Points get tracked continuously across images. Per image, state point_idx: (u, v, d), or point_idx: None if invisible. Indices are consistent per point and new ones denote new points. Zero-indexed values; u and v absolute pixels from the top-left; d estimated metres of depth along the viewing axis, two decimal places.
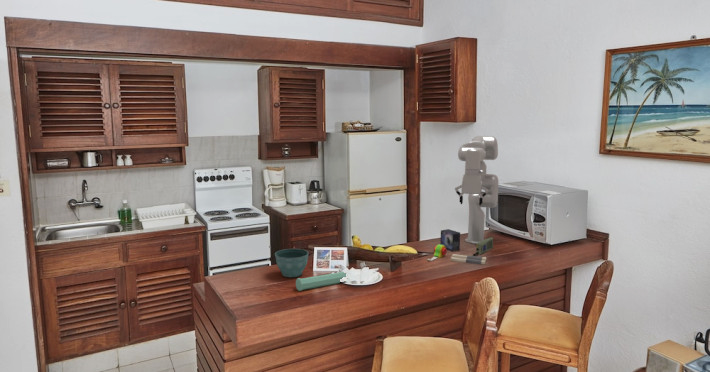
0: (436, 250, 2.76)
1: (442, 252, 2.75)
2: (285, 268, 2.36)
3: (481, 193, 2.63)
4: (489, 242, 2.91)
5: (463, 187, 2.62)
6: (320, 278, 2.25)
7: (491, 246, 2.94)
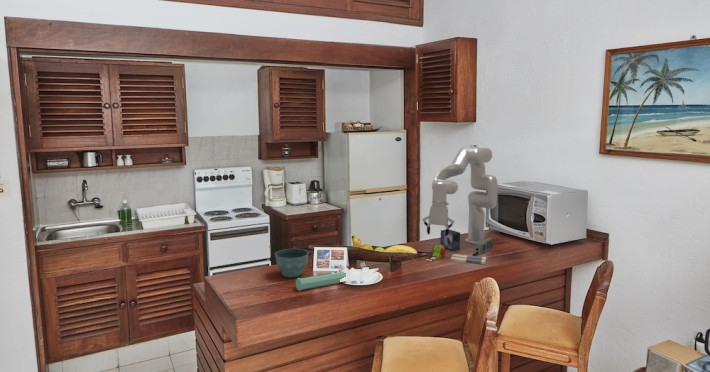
0: (435, 250, 2.75)
1: (441, 252, 2.74)
2: (285, 268, 2.36)
3: (447, 224, 2.72)
4: (489, 242, 2.91)
5: (430, 218, 2.71)
6: (320, 278, 2.25)
7: (490, 246, 2.94)
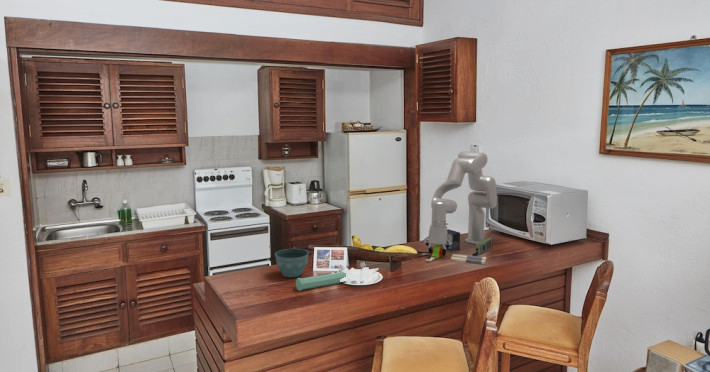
0: (434, 250, 2.74)
1: (440, 252, 2.74)
2: (285, 268, 2.36)
3: (445, 244, 2.74)
4: (488, 242, 2.91)
5: (430, 238, 2.73)
6: (320, 278, 2.25)
7: (490, 246, 2.94)
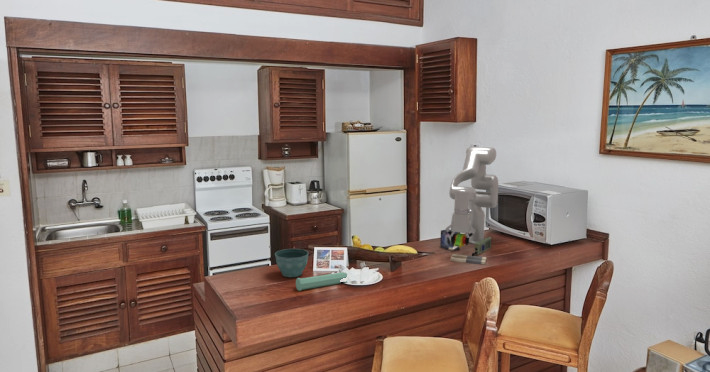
0: (457, 239, 2.69)
1: (463, 241, 2.69)
2: (285, 268, 2.36)
3: (468, 233, 2.69)
4: (487, 242, 2.92)
5: (452, 226, 2.68)
6: (320, 278, 2.25)
7: (489, 246, 2.95)
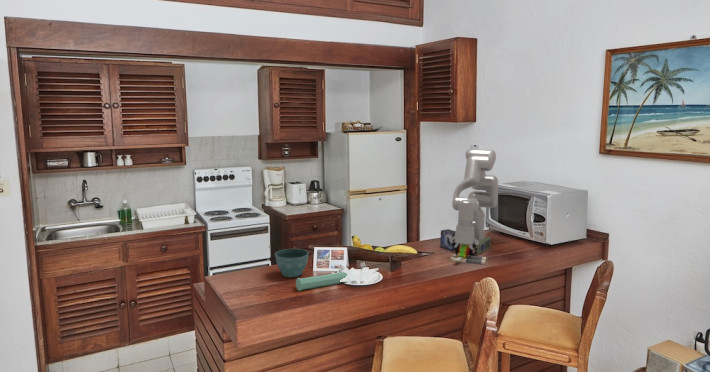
0: (461, 250, 2.70)
1: (467, 252, 2.69)
2: (285, 268, 2.36)
3: (472, 244, 2.70)
4: (487, 242, 2.92)
5: (456, 237, 2.68)
6: (320, 278, 2.25)
7: (489, 246, 2.95)
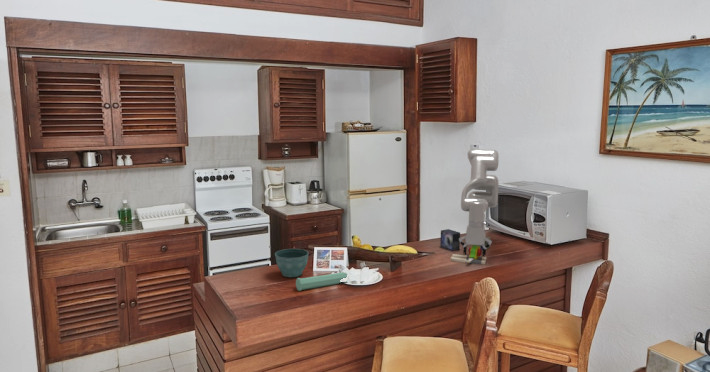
0: (472, 251, 2.68)
1: (478, 253, 2.68)
2: (285, 268, 2.36)
3: None
4: (486, 242, 2.92)
5: (467, 238, 2.67)
6: (320, 278, 2.25)
7: None
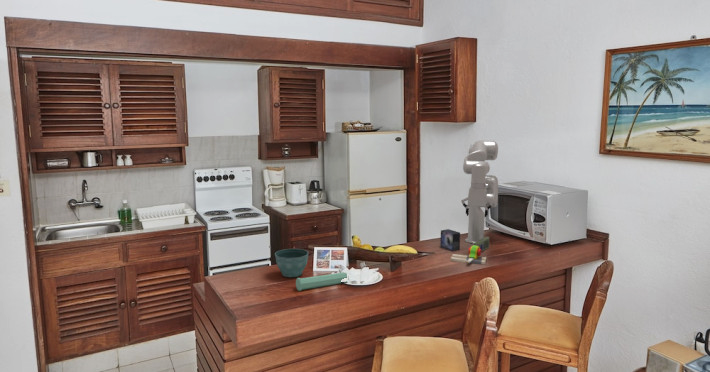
0: (471, 251, 2.68)
1: (478, 253, 2.68)
2: (285, 268, 2.36)
3: (486, 205, 2.75)
4: (486, 241, 2.92)
5: (469, 200, 2.74)
6: (320, 278, 2.25)
7: (487, 245, 2.95)
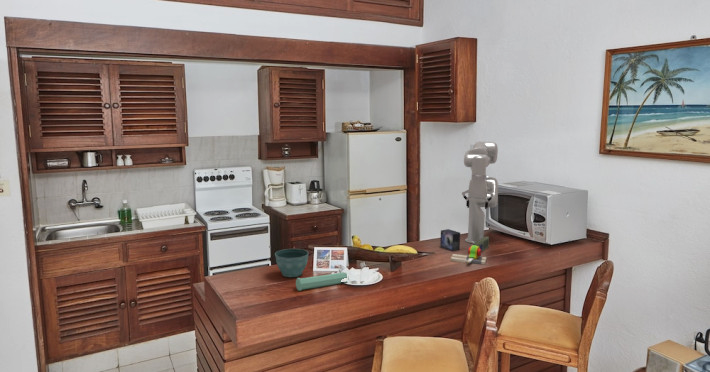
0: (471, 251, 2.68)
1: (477, 253, 2.68)
2: (285, 268, 2.36)
3: (487, 197, 2.79)
4: (485, 241, 2.92)
5: (470, 192, 2.78)
6: (320, 278, 2.25)
7: (487, 245, 2.95)
